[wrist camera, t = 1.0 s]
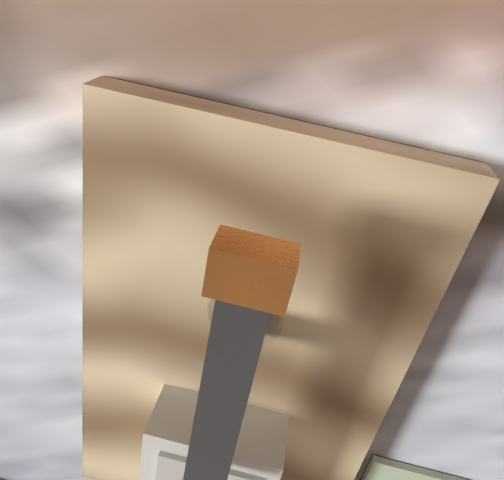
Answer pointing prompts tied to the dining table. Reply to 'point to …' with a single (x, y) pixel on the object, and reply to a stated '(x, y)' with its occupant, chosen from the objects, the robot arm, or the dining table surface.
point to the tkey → (235, 338)
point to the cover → (179, 432)
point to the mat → (401, 471)
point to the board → (271, 224)
